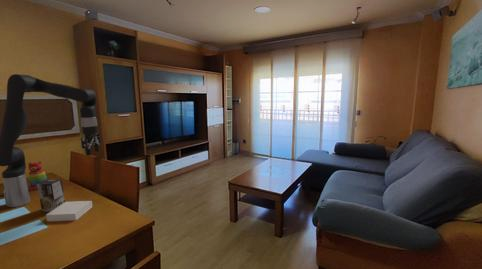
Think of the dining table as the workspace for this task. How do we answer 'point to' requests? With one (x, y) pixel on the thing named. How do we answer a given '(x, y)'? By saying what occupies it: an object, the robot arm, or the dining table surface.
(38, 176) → the stacking bear
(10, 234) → the dining table surface
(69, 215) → the plinth
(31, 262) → the dining table surface
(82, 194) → the dining table surface
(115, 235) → the dining table surface
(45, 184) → the coffee box
